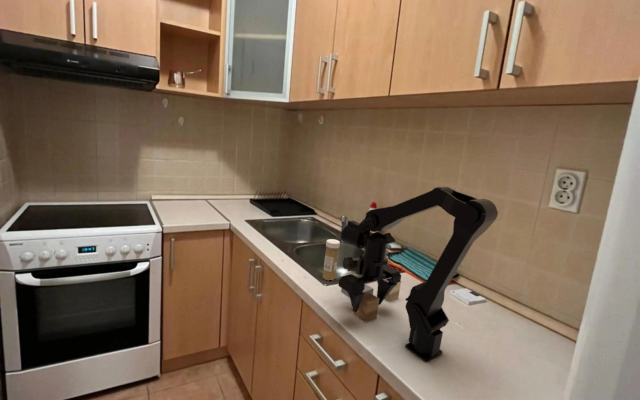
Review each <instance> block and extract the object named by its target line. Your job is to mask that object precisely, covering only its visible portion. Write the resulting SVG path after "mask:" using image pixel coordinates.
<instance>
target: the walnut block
mask: <svg viewBox="0 0 640 400" xmlns="http://www.w3.org/2000/svg"><path fill="white" fill-rule="evenodd" d="M379 306H380V305H379V298H378V297H377V295H374V293H373V294H371V293H369V292H366V293H364V296H363V298H362V301H361V303H360V306H359V308H358V310H357V312H356V313H355V312H354V311H353V312H354V316H355V317H356V318H358V319H360V320H361V321H362V322H364V323H368V322H371V321H373V320H377V317H378V311H379Z"/></svg>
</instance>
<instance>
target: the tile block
mask: <svg viewBox="0 0 640 400" xmlns="http://www.w3.org/2000/svg"><path fill="white" fill-rule="evenodd" d="M340 289H341V291H340V292H341V293H342V294H344V296H345V295H346V296H347V297H348V298H350V297H349V294H348V292H347V291H345V290H344V289H342V288H340ZM366 292H369V293H371V294H373V295H374V288H373V287H371V286H370V285H369V284H366V285H365V288H364V290H363V293H366Z"/></svg>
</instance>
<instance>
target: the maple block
mask: <svg viewBox="0 0 640 400" xmlns="http://www.w3.org/2000/svg"><path fill="white" fill-rule="evenodd" d="M401 283H402V280H401V281H400V282H398V283H397V285H396V286H395V287H394V288H393V289H392V290H391V291H390V292H389V294H388V295H387V296H386V298H385V299H384V301H386V302H388V303H390V302H394V301H396V300H399V297H400V291H401V290H400V289H401V285H402V284H401Z"/></svg>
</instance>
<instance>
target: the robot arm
mask: <svg viewBox="0 0 640 400" xmlns="http://www.w3.org/2000/svg"><path fill="white" fill-rule="evenodd" d="M438 207H440V209H442V210H443V211H445V212H446V213H447V214H448V215H449V216H451V217H454V220H453V228H452V230H453V231H452V235H451V236H450V239H449V240H448V242H447V244H446V245H445V248H444V249H443V251H442V253H441V254H440V257H439V258H438V260H437V262H436V263H435V265H434V267H433V269H432V271H431V272H430V274H429V276H428V277H427V279H426V280H425V281H423V282H421V283H418V284H416V285H414V286H412V287H411V289H410V291H409V292H410V293H409V295H408V296H407V297H406V298H405V302H406V303H405V311H406V313H407V316H408V323H409V328H410V330H409V336H408V337H409V338H408V343H406V344H405V346H404V347H405V348H406V349H407V350H408V351H410V352H412V353H413V354H415V355H416V356H417V357H419V358H420V359H422V360H423V361H424V362H427V363H428V362H430V361H432V360H433V359H435V358H437V357H439V356H441V355H443V353H444V352H443V350H442V349H441V344H442V339H443V333H444V331H443V330H441V329H442V328H445V327H446V326H447V325H448V324H449V321H450V320H449V319H450V318H448V316H447V314H446V312H445V311H444V309H443V304H444V301H445V292H446V289H447V287H448V286H449V285H450V282H451V281H452V279H453V278H454V275H455V274H456V272H457V270H458V269H459V267H460V266H461V264H462V262H463V260H464V259H465V257H466V255H467V254H468V252H469V251H470V249H471V247H472V246H473V244H474V242H475V241H476V240H477V239H478V238H479V237H480V236H482V235H483V234H484V233H485V232H486V231H487V230H488V229H489V228H490V227H491V226H492V225H493V223H495V222H496V220H497V219H498V216H499V215H498V214H499V211H498V209H497V206H496V205H495V203H494V202H492V201H491V200H489V199H487V198H479V199H478V198H477V197H474V196H472V195H468V194H465V193H462V192H461V191H460V192H459V191H456V190H455V189H452V188H451V187H449V186H436V187H434V188H432V189H431V190H429V191H427V192H424V193H421V194H420V195H418V196H415V197H412V198H410V199H408V200H405V201H402V202H399V203H397V204H395V205H391V206H386V207H381V208H374V209H370V210H368V211H366V213H365V216H364V218H363V220H361V222H360V223H359V222H357V221H355V220H348V221H347V224H346V225H345V227H343V229H342V232H341V234H340V239H341V242H342V243H344V244H346V245H348V246H351V247H353V248H356V249H358V250H362V249H364V250H363V254H362V255H359V257H355V258H353V257H352V256H347V257H346V256H344V257H343V260H342V267H343V269H345V270H347V272H350V271H353V272H355V274H357V275H358V276H359V275H360V277H357V276H356V275H354V274H353V273H352V274H347V275H342V276H340V277H339V279H338V287H339V288H340V289H344V290H345V291H347V292H348V294H349V297H348V298H349V300H350V304H351V308H352V311H353V312H355V313H356V312H357V310H358V308H359V306H360V303H361V301H362V298H363V296H364V293H363V290H364V288H365V285H369V284H373V283H377V291H376V297H378V298H379V306H380V305H381V304H382V303H383V302H384V301H385V298H386V296H387V295H388V294H389V292H390V291H391V290H392V289H393V288H394V287H395V286H396V285H397V283H398V282H400V281H401V282H402V275H401V272H400V271H398V270H397V269H395V268H394V267H390V265H389V266H388V264H389V260H388V259H386V255H387V248H388V245H389V244H393V243H395V242H396V239H395V238H394V236H393V235H392V234H391V232H386V233H382V231H386V230H390V229H392V228H393V227H395V226H397V225H398V224H400V223H401V222H402V221H404V220H405V219H407V218H410V217H413V216H416V215H419V214H421V213H424V212H426V211H429V210H432V209H435V208H438ZM385 265H386V266H385Z"/></svg>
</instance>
